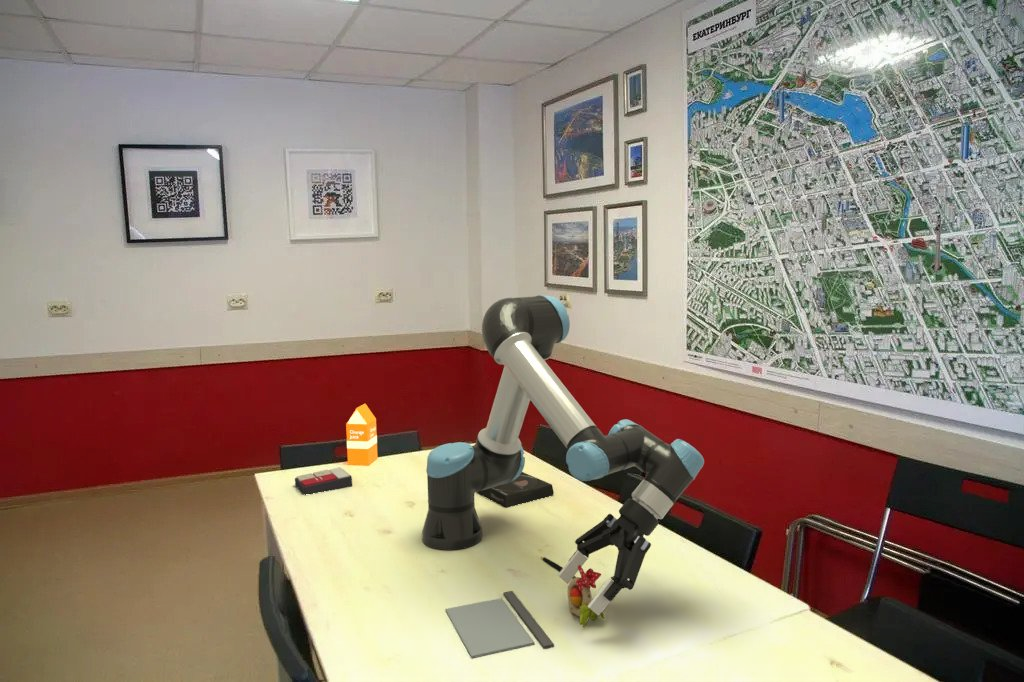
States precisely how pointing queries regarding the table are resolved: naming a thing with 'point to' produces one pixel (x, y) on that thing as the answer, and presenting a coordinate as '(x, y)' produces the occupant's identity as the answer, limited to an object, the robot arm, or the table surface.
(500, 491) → the black flat box
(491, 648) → the mat
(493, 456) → the robot arm
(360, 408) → the orange juice
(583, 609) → the bird rattle
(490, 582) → the table surface
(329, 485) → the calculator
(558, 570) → the fountain pen
